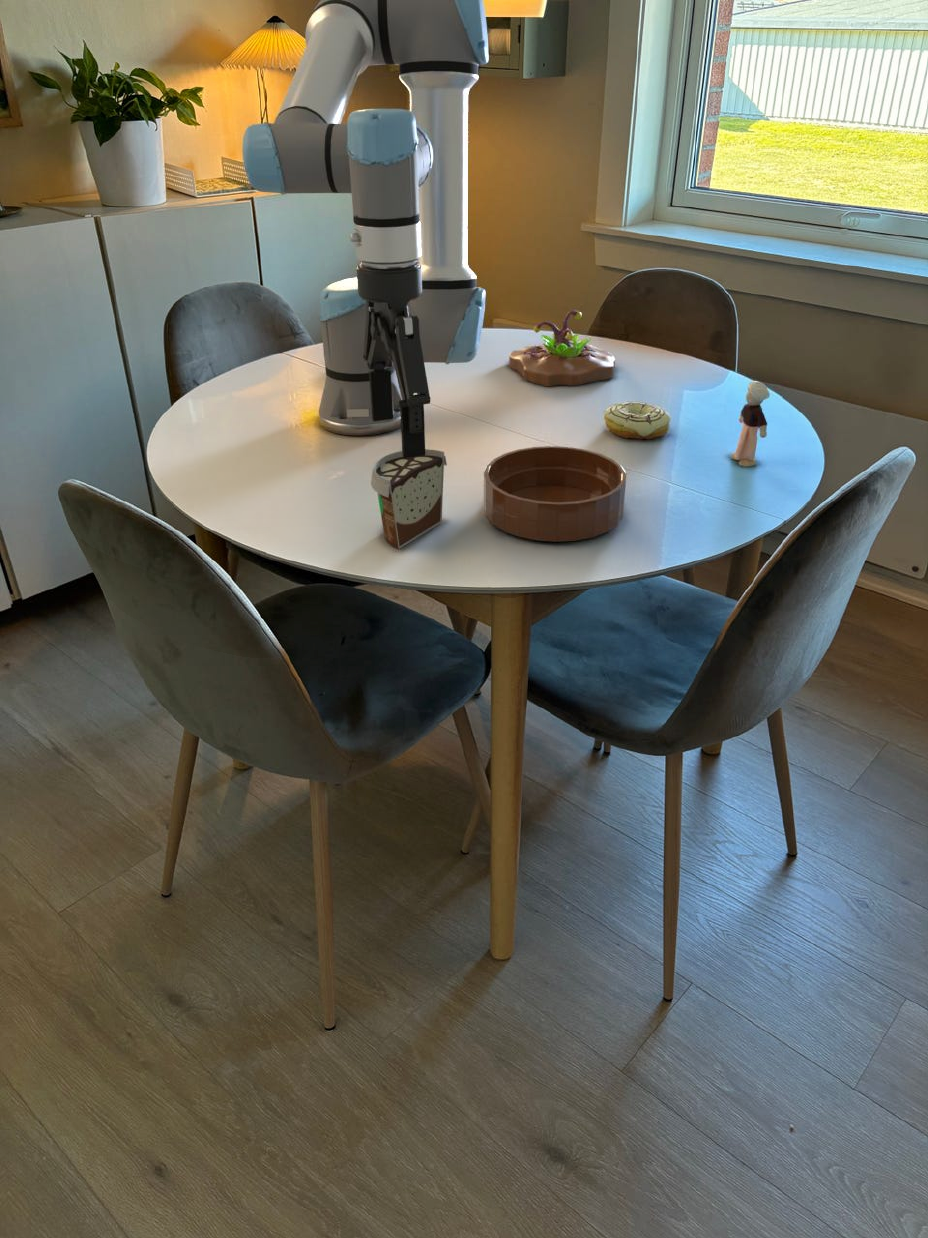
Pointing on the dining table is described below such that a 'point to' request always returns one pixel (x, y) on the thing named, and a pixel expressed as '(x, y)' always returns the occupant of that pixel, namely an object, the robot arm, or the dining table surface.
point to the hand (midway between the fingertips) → (397, 436)
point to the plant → (562, 359)
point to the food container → (409, 494)
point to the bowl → (554, 493)
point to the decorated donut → (637, 420)
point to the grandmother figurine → (751, 424)
